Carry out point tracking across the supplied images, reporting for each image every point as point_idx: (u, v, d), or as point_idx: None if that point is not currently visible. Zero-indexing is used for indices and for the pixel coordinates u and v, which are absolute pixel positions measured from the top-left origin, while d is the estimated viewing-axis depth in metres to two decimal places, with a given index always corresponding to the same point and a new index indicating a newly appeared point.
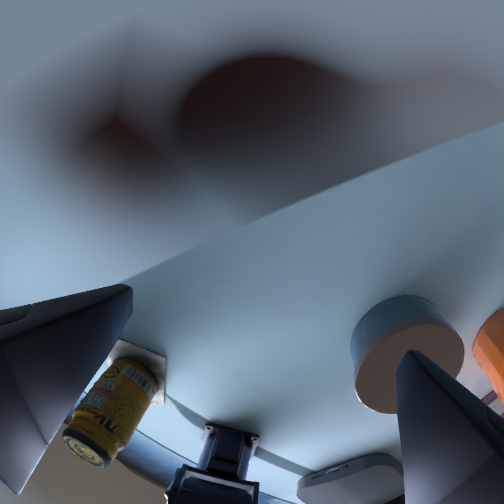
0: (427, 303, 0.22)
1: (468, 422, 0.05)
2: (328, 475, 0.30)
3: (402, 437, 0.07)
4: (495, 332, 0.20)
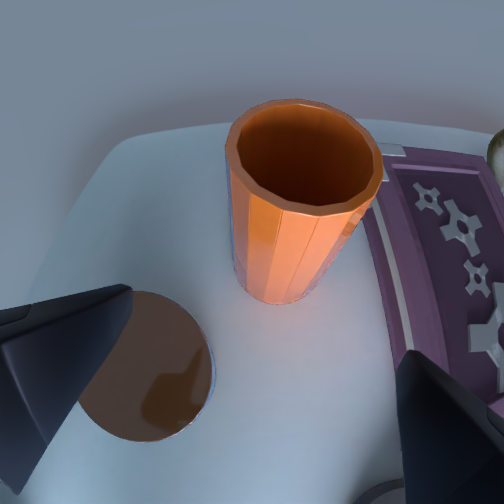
0: None
1: (468, 422, 0.05)
2: None
3: (402, 437, 0.07)
4: (233, 258, 0.22)
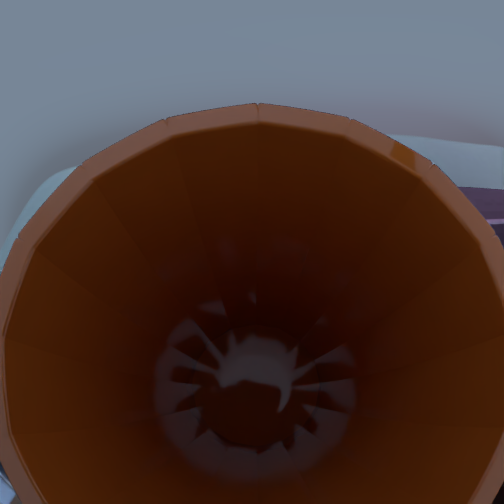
0: None
1: None
2: None
3: None
4: None
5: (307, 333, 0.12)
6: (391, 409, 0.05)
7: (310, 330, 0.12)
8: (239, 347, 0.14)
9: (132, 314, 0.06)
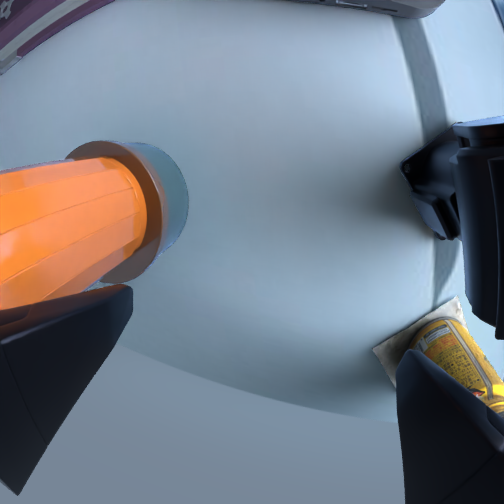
0: None
1: (468, 422, 0.05)
2: (363, 2, 0.13)
3: (402, 437, 0.07)
4: None
5: None
6: None
7: None
8: None
9: None
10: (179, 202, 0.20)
